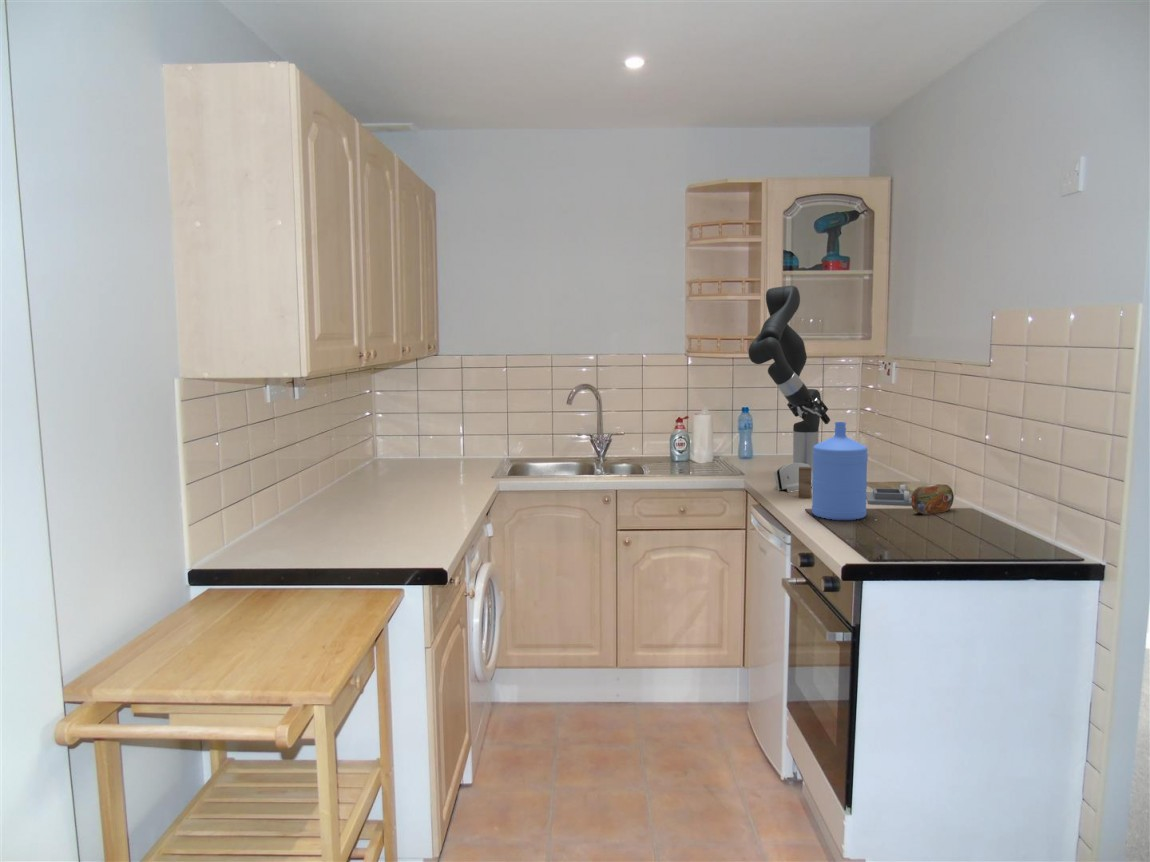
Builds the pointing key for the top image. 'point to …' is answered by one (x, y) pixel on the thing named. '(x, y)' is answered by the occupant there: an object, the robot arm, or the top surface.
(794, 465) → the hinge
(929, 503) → the tin
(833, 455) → the water jug
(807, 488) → the block
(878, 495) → the seat board
